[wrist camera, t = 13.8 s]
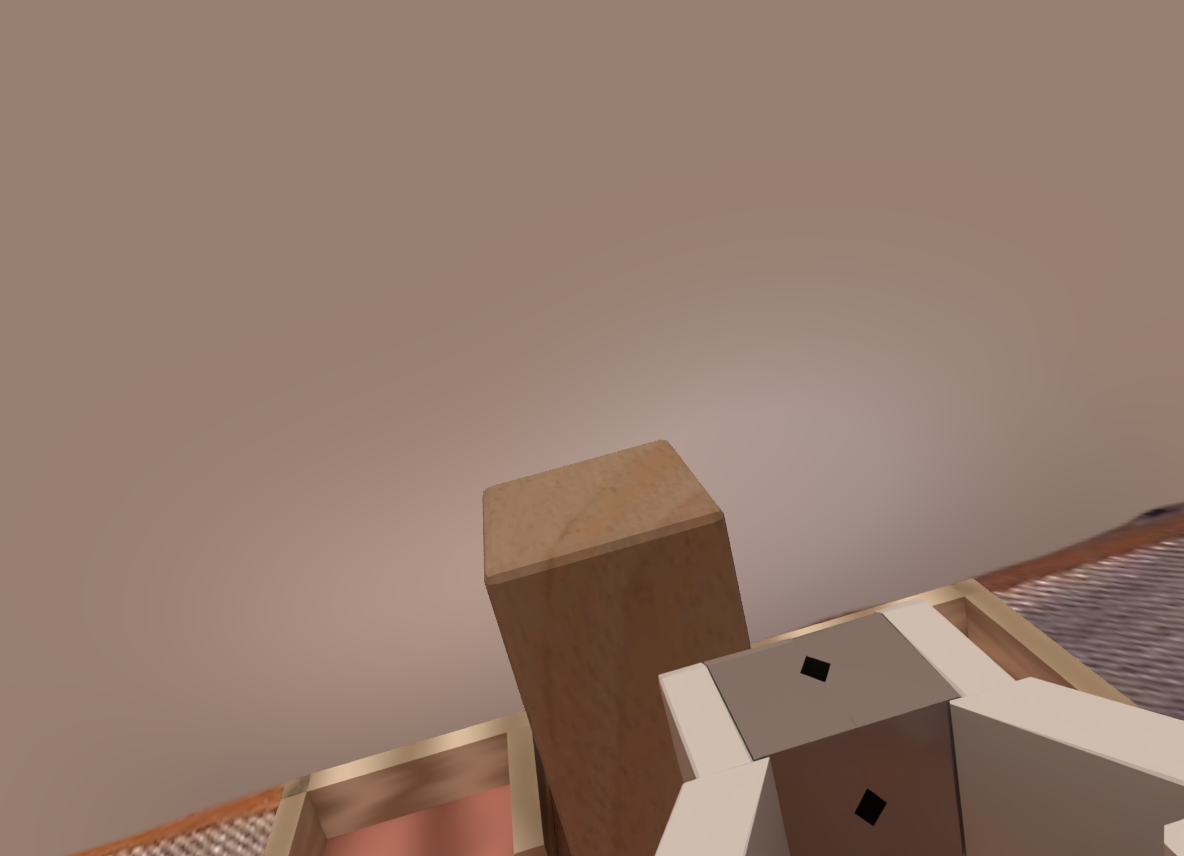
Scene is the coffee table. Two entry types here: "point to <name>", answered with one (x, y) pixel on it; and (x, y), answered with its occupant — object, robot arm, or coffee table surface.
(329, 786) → the trap box
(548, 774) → the wooden block
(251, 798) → the coffee table surface
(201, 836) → the coffee table surface
